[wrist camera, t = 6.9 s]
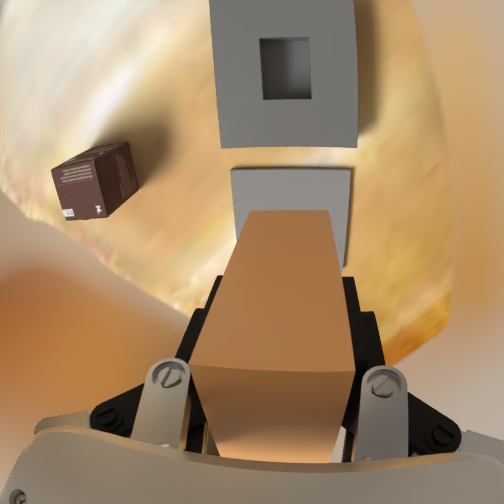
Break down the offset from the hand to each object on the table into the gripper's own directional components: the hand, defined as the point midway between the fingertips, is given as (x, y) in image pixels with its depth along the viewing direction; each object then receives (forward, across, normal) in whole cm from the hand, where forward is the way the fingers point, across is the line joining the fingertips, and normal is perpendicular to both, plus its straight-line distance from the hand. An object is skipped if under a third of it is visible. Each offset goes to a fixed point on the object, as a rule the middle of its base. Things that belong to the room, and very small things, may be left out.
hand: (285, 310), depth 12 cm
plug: (+4, 0, 0) cm, 4 cm away
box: (+22, +20, -1) cm, 30 cm away
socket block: (+22, 0, -9) cm, 24 cm away
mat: (+22, +1, +7) cm, 23 cm away
